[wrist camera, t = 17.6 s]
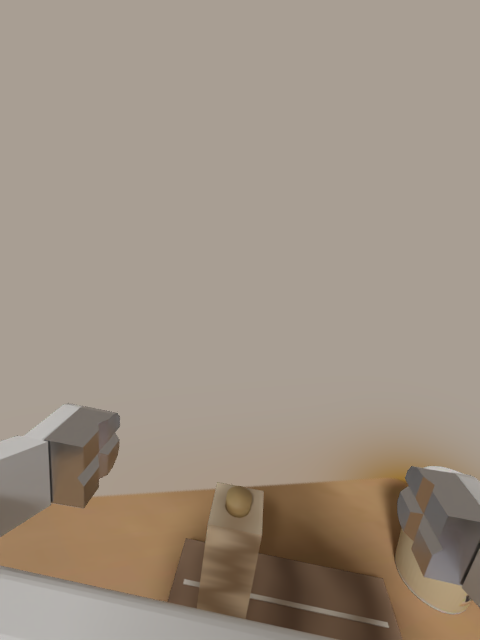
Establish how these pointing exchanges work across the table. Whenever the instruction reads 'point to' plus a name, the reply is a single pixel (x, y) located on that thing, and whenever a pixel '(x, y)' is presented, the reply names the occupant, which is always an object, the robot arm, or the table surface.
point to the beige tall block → (231, 550)
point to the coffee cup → (426, 589)
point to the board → (301, 597)
